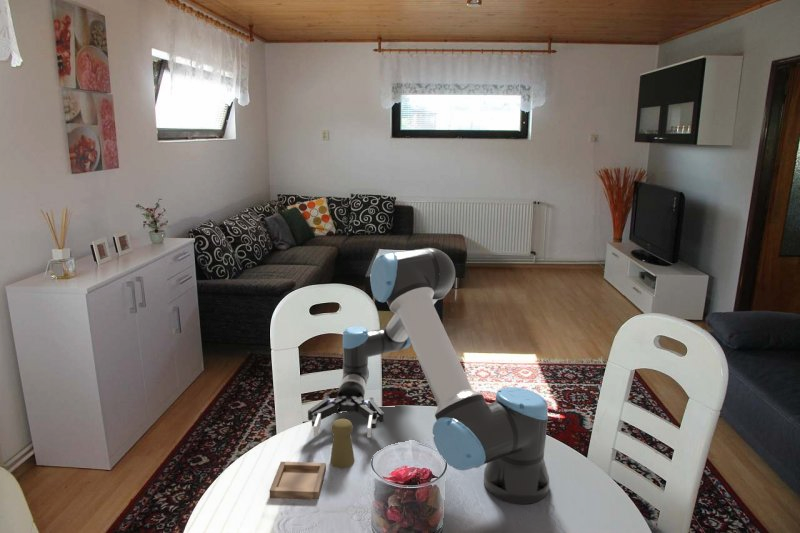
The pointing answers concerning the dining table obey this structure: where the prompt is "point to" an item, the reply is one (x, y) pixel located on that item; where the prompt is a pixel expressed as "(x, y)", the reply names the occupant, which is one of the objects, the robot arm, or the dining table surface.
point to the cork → (342, 444)
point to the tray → (298, 480)
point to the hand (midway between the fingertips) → (341, 432)
